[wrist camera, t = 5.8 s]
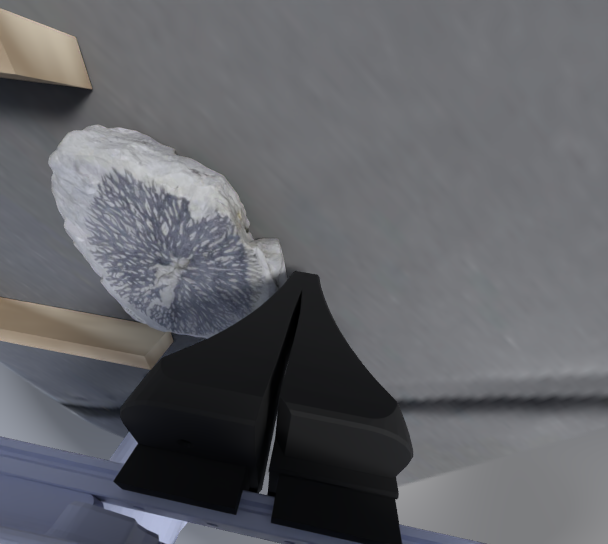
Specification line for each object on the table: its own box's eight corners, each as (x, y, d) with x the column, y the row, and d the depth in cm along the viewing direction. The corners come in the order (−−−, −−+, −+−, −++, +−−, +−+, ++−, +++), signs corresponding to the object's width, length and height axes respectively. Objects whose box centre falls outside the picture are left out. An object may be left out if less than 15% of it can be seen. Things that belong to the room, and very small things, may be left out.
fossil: (329, 286, 9) (198, 405, 12) (326, 260, 13) (227, 354, 16) (82, 55, 7) (-9, 265, 10) (165, 105, 11) (83, 245, 14)
